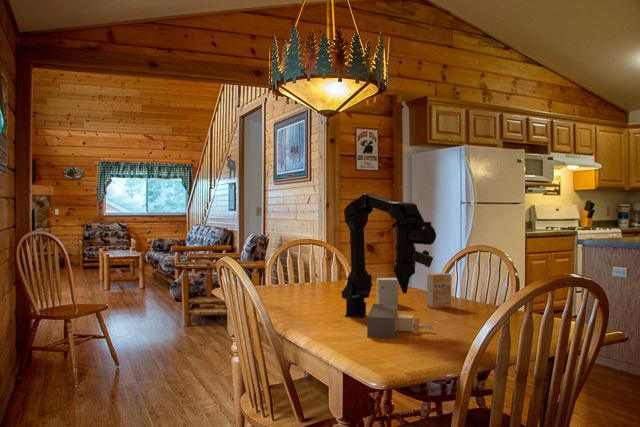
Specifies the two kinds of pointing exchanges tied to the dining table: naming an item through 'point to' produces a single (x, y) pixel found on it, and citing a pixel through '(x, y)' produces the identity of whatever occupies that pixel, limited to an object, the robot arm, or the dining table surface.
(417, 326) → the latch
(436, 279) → the supplement box
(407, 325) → the plug
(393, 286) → the small box
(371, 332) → the grey block
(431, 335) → the dining table surface
